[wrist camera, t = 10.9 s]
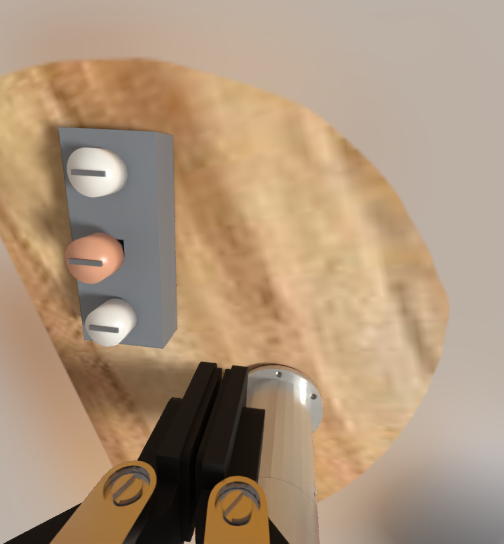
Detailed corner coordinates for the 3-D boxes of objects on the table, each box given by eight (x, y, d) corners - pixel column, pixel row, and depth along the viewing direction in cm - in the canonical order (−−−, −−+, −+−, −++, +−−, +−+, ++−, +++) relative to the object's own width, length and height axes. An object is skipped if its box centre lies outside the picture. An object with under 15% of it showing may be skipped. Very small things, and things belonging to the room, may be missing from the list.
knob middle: (139, 266, 38) (108, 286, 32) (102, 263, 38) (65, 282, 32) (136, 228, 37) (104, 241, 30) (98, 225, 37) (59, 237, 31)
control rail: (177, 329, 45) (163, 348, 40) (106, 321, 46) (84, 339, 41) (172, 135, 37) (154, 131, 32) (87, 131, 38) (58, 127, 33)
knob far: (149, 322, 42) (124, 349, 36) (115, 319, 43) (85, 345, 37) (147, 290, 41) (121, 312, 35) (113, 286, 41) (81, 308, 35)
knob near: (142, 192, 37) (112, 199, 31) (104, 190, 38) (67, 196, 32) (140, 150, 36) (108, 148, 30) (101, 148, 36) (61, 146, 30)
